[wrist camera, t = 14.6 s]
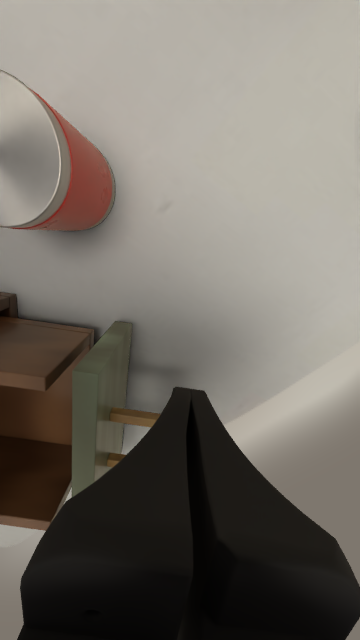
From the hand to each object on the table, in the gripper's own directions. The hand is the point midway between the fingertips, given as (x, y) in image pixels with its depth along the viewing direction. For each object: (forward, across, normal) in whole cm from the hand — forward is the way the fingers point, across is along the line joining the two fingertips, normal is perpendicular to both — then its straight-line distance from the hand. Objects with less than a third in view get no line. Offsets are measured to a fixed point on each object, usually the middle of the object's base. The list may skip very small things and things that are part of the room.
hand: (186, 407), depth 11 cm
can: (+8, +8, -9) cm, 15 cm away
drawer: (+7, +8, +5) cm, 12 cm away
